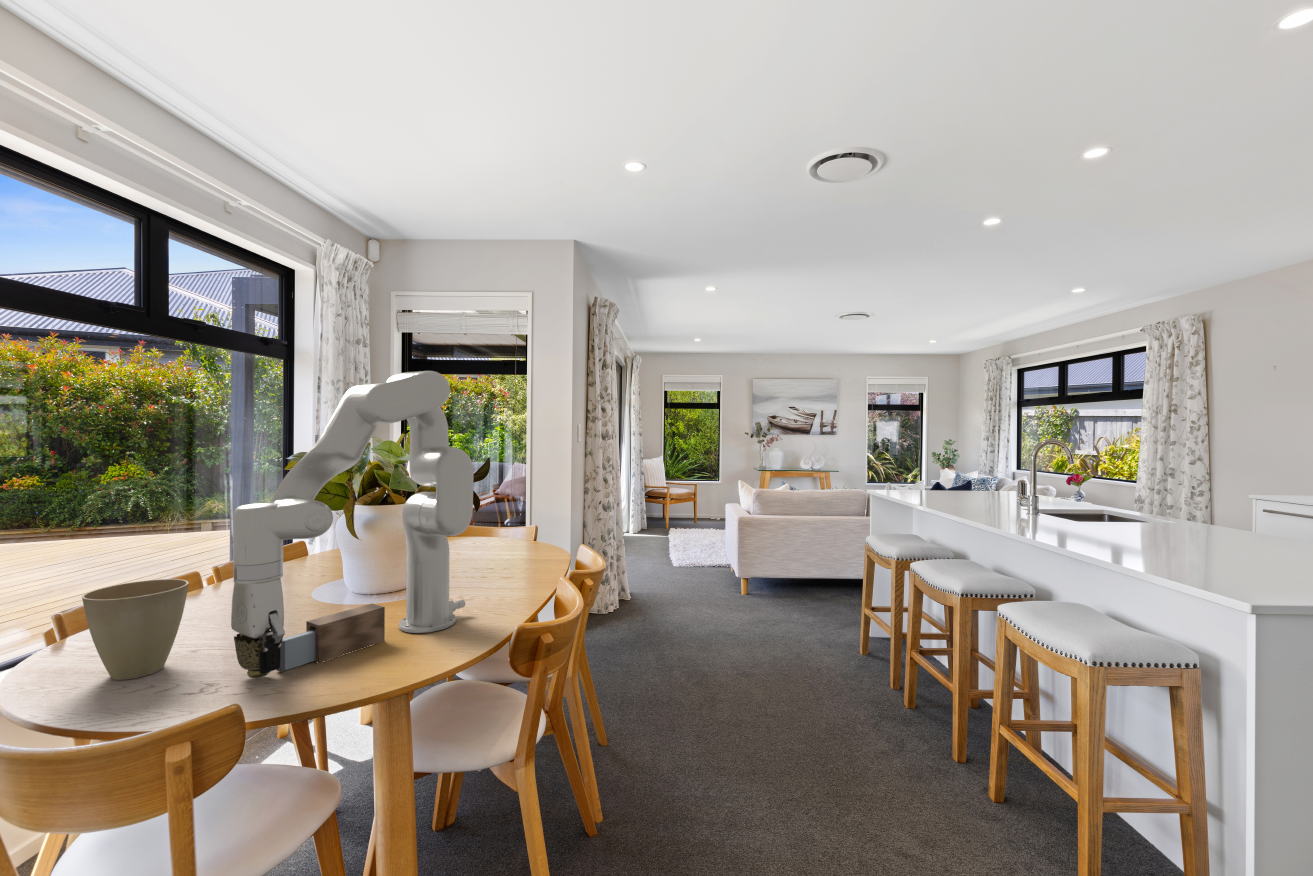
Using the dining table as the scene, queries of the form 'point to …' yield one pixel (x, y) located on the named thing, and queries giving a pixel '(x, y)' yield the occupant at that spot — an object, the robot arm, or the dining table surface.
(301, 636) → the gray rectangular panel
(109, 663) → the plant pot
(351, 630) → the dark brown rectangular beam
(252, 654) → the cup
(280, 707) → the dining table surface
